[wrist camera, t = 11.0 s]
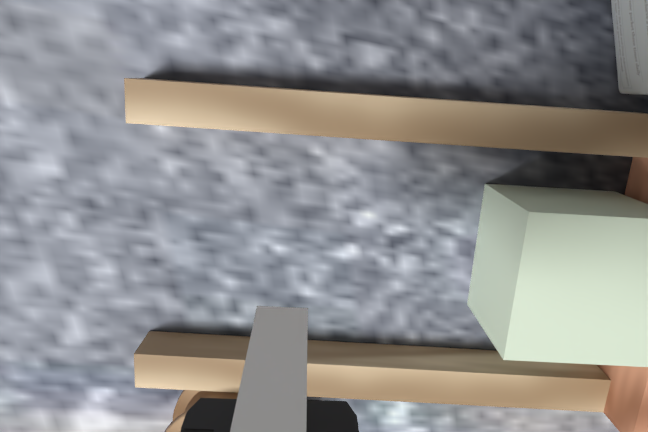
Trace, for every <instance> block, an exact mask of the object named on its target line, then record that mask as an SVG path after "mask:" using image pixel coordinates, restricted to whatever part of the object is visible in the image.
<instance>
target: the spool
mask: <svg viewBox="0 0 648 432" xmlns="http://www.w3.org/2000/svg"><path fill="white" fill-rule="evenodd" d="M237 397H238V393H234V392H215V391H197V390H184V391H183V392H182V394H181V395H180V397H179V399H178V402H177V404H176V407H175V409H174V414H173V421H172V422H171V424H170V425H169V426H168V427H167V429H166V430H165V432H181V427H182V424H183V421H184V418H185V415H186V413H187V411H188V410H189V409H190V408H191V407H192V406H193V405H194V404H195V403H196V402H197V401H198V400H199V399H200V398H221V399H237Z"/></svg>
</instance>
